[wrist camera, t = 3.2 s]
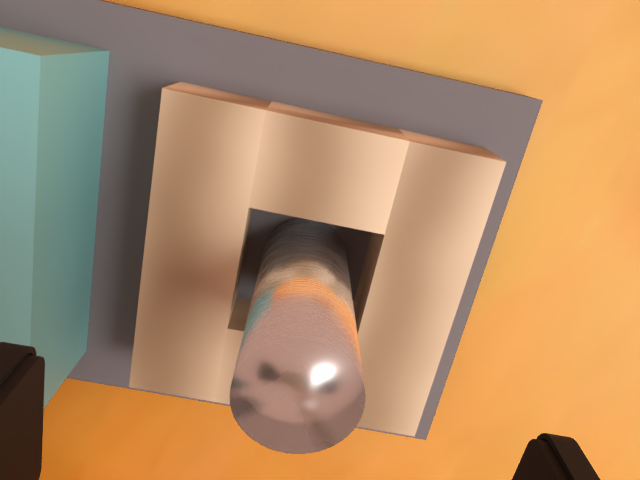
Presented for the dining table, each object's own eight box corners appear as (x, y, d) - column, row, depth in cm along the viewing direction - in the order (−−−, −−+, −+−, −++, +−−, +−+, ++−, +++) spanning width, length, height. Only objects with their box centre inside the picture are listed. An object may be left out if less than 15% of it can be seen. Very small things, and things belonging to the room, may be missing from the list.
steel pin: (354, 225, 21) (380, 353, 13) (336, 299, 22) (348, 463, 14) (271, 209, 21) (241, 328, 12) (257, 285, 22) (220, 442, 13)
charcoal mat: (527, 96, 21) (542, 100, 19) (420, 417, 26) (425, 439, 25) (-259, -82, 19) (-306, -91, 17) (-209, 307, 24) (-242, 324, 22)
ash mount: (484, 147, 20) (506, 162, 18) (405, 396, 24) (414, 436, 21) (181, 81, 19) (162, 88, 17) (148, 351, 23) (129, 387, 21)
